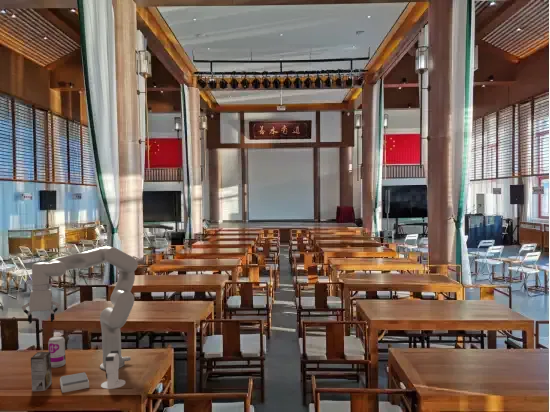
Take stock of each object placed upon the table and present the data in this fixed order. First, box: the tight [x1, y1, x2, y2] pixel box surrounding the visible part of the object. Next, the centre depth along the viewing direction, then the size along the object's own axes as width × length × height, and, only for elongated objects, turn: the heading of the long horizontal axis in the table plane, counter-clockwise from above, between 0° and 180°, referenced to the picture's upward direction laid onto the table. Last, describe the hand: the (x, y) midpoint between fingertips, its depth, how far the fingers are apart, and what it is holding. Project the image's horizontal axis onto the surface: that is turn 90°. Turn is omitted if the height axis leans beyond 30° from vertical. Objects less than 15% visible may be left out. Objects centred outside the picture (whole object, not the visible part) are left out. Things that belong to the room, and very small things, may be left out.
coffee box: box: [30, 351, 53, 392], centre depth 243 cm, size 9×6×16 cm
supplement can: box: [47, 335, 67, 369], centre depth 275 cm, size 8×8×15 cm
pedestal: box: [59, 371, 90, 393], centre depth 244 cm, size 12×12×4 cm
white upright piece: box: [100, 351, 126, 390], centre depth 245 cm, size 12×11×15 cm
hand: (41, 322), depth 248 cm, fingers open, 9 cm apart
